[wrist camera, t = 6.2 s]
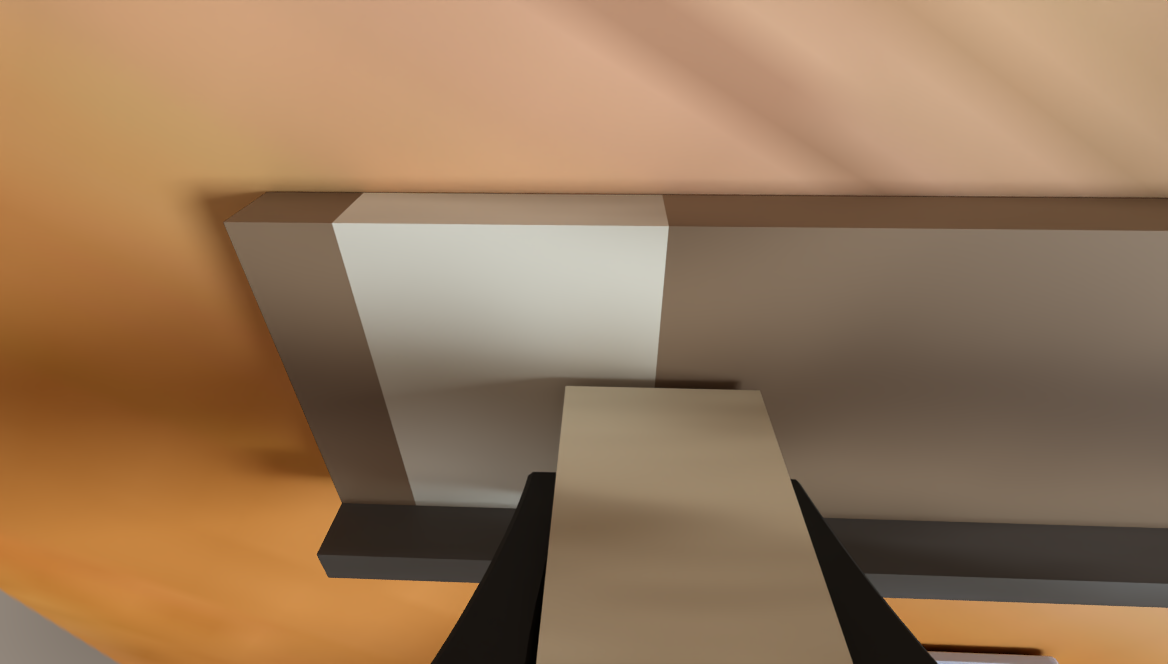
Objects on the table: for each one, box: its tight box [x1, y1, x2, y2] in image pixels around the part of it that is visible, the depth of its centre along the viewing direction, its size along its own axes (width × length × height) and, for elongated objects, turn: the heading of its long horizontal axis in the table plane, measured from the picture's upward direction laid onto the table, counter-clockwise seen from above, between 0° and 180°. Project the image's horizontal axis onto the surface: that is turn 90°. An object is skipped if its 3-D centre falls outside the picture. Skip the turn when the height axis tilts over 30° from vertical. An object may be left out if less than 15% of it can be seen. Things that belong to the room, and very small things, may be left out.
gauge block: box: [536, 386, 853, 664], centre depth 10 cm, size 4×4×6 cm
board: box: [223, 192, 1168, 608], centre depth 12 cm, size 9×26×3 cm, turn 91°
